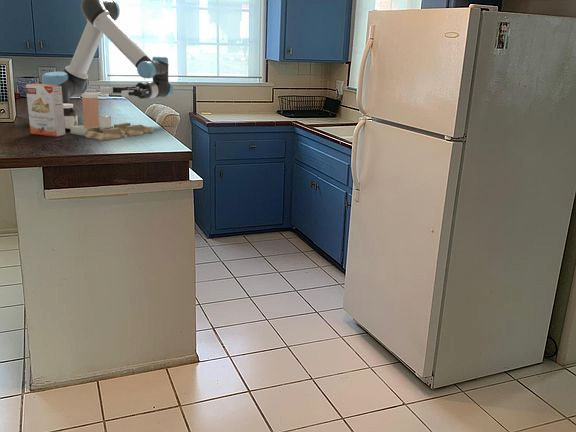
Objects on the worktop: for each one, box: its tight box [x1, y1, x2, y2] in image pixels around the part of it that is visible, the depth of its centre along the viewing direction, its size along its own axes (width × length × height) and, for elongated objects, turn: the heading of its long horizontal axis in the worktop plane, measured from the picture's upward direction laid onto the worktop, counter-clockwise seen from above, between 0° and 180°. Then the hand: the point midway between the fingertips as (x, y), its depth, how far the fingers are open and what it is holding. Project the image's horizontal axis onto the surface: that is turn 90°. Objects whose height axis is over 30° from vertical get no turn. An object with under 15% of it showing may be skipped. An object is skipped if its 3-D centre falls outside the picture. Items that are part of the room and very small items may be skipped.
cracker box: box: [25, 83, 67, 138], centre depth 238 cm, size 14×6×21 cm, turn 70°
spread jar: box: [63, 103, 79, 133], centre depth 253 cm, size 12×11×12 cm
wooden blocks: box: [85, 122, 154, 141], centre depth 247 cm, size 12×28×4 cm, turn 148°
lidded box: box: [81, 92, 100, 129], centre depth 246 cm, size 5×5×16 cm
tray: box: [69, 124, 114, 137], centre depth 248 cm, size 12×14×3 cm
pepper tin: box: [98, 114, 112, 133], centre depth 239 cm, size 5×5×9 cm
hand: (111, 92), depth 253 cm, fingers open, 13 cm apart
